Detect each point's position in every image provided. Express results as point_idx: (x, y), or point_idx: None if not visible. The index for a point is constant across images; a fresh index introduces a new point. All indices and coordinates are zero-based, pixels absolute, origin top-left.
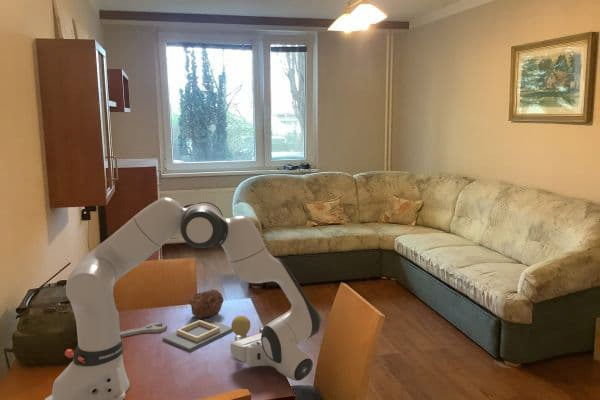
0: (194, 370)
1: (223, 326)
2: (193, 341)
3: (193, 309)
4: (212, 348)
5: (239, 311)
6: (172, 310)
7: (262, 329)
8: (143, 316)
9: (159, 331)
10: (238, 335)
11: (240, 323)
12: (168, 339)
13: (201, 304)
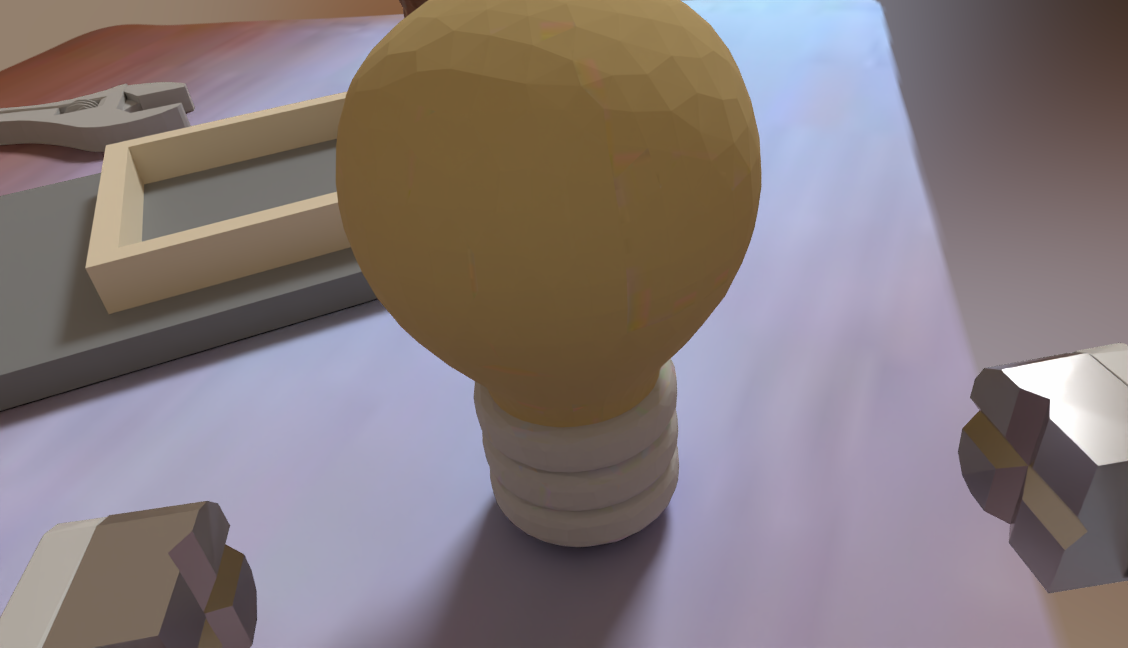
0: None
1: None
2: (96, 296)
3: (401, 4)
4: (177, 456)
5: (790, 60)
6: (377, 31)
7: (1104, 441)
8: (203, 51)
9: (103, 146)
10: (153, 533)
11: (437, 136)
12: None
13: None
